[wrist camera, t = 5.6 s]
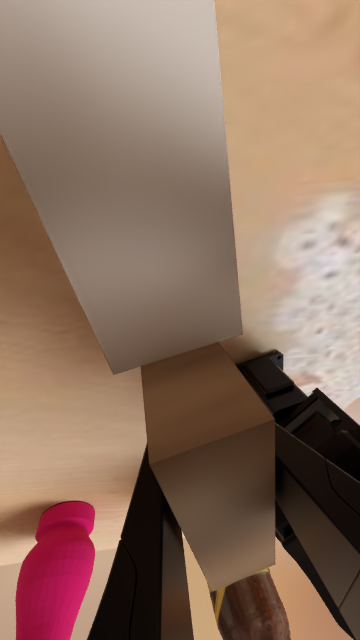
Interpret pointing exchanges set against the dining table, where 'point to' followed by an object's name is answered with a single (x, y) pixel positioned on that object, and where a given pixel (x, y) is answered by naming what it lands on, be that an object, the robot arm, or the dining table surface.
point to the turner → (149, 240)
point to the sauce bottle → (250, 609)
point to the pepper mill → (55, 573)
